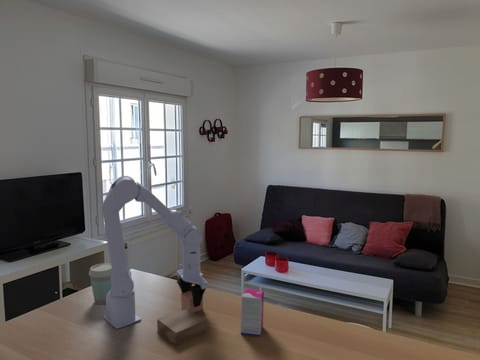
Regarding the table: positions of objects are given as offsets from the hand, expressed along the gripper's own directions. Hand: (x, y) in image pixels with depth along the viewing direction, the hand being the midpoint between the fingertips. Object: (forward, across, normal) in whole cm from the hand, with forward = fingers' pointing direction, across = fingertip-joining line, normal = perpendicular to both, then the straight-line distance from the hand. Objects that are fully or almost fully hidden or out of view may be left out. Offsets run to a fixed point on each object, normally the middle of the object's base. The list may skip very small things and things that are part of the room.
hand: (192, 303), depth 124 cm
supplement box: (+2, -23, -5) cm, 24 cm away
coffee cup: (+2, +25, +19) cm, 31 cm away
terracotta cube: (+2, 0, 0) cm, 2 cm away
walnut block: (+2, -10, +10) cm, 14 cm away
